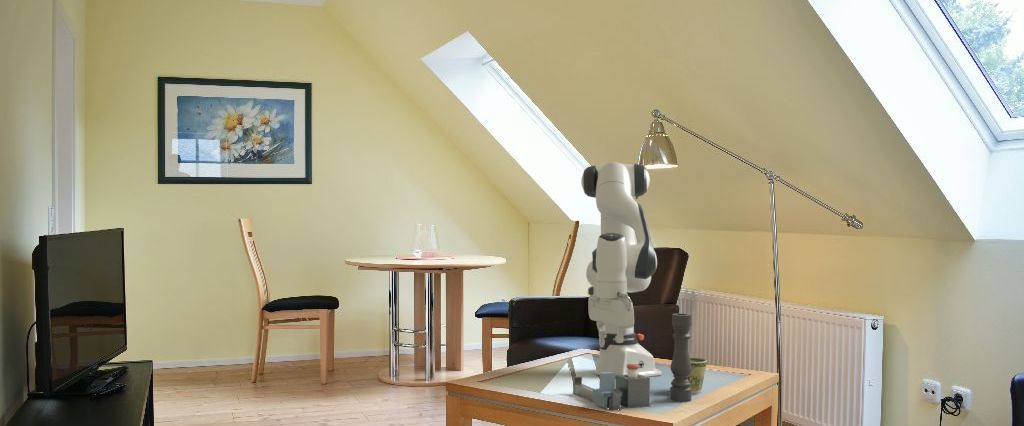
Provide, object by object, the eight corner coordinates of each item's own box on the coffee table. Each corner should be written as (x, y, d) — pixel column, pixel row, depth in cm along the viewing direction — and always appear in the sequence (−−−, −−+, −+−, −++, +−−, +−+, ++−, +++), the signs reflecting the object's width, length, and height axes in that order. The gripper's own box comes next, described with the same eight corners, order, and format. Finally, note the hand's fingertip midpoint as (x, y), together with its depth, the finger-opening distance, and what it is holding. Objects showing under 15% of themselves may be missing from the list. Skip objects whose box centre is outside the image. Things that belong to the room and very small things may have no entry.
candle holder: (667, 397, 263) (668, 313, 263) (687, 397, 264) (689, 313, 264) (673, 401, 257) (674, 315, 257) (693, 401, 258) (695, 315, 258)
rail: (580, 393, 268) (580, 376, 268) (620, 410, 246) (620, 392, 246) (573, 393, 267) (573, 376, 267) (612, 410, 245) (613, 392, 245)
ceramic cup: (699, 397, 265) (700, 363, 265) (668, 392, 270) (668, 360, 270) (714, 389, 276) (714, 357, 276) (683, 385, 281) (684, 354, 281)
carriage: (610, 401, 254) (611, 370, 254) (621, 406, 249) (621, 374, 249) (592, 403, 252) (592, 371, 252) (602, 407, 246) (603, 375, 246)
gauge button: (634, 383, 255) (634, 363, 255) (640, 386, 252) (641, 365, 252) (624, 384, 254) (624, 364, 254) (630, 386, 251) (630, 366, 251)
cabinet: (636, 401, 258) (636, 373, 258) (649, 406, 251) (649, 378, 251) (615, 402, 255) (615, 375, 255) (627, 408, 248) (628, 379, 248)
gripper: (640, 294, 242) (639, 345, 242) (603, 287, 261) (603, 334, 261) (619, 295, 240) (619, 346, 240) (584, 288, 258) (584, 335, 259)
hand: (610, 340), depth 251 cm, fingers open, 8 cm apart
